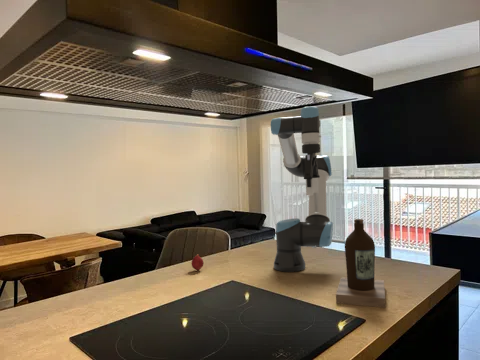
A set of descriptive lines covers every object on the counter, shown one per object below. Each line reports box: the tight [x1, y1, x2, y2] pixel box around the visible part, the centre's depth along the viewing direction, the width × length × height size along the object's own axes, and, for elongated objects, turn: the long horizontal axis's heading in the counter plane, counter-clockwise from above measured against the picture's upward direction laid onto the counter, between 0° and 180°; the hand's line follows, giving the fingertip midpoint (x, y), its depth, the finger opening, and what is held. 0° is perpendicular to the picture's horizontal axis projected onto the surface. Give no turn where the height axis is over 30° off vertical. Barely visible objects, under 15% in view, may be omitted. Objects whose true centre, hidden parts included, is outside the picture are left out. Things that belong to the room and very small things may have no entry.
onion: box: [191, 254, 204, 272], centre depth 170 cm, size 6×6×8 cm
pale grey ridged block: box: [335, 276, 386, 308], centre depth 129 cm, size 20×16×3 cm
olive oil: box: [344, 218, 376, 291], centre depth 129 cm, size 11×11×25 cm
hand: (312, 194), depth 148 cm, fingers open, 13 cm apart
